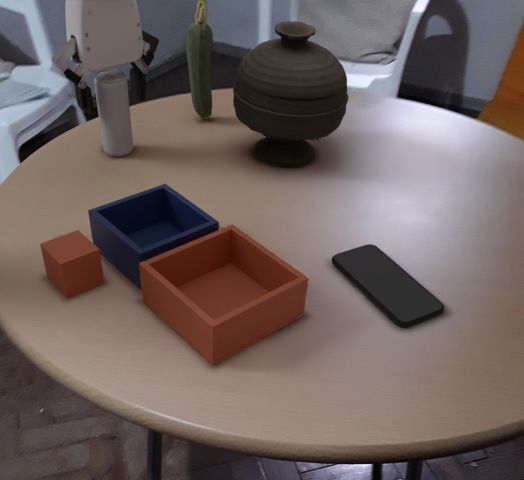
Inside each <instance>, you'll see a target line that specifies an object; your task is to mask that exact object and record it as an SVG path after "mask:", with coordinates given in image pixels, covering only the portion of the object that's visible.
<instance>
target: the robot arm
mask: <svg viewBox="0 0 524 480" xmlns="http://www.w3.org/2000/svg"><path fill="white" fill-rule="evenodd" d="M64 13H65V18H64V19H65V35H66V43H65V44H63V46H61V48H60V49H59V50H57V52H56V53H54V55H52V57H51V62H52V64H53V65H54V66H55V68H56V69H57V71H59V73H60V74H61V75H62V76H63V77H64V78H66V80H69V81H70V82H71V83H72V84H74V91H75V98H76V104H77V106H78V108H79V109H80V110H82V111H83V112H85V113H86V114H88V116H91V115H94V114H95V107H94V100H93V91H92V88H91V87H90V86H89V85H88V83H89V81H90V79H91V77H92V75H93V73H94V72H95V71H101V70H106V69H111V68H113V67H118V66H122V65H127V64H130V65H131V68H129V72H128V73H129V83H130V84H129V85H130V93H131V96H132V97H134V98H136V99H138V100H139V101H141V102H144V101H147V93H146V92H147V76H146V75H147V74H148V72H149V69H150V68H149V67H150V65H151V64H152V62H153V60H154V59H155V53H156V51H157V48H158V46H159V43H160V40H159V38H158V37H156V36H154V35H152V34H150V33H149V32H147V31H146V30H143V29H142V23H141V18H140V17H141V16H140V11H139V7H138V2H137V0H65V7H64ZM144 42H145V45H144ZM69 60H70V61H71V62H73V63H75V64H74V67H73V69H72V68H71V67H70V66H69V64H68V61H69Z"/></svg>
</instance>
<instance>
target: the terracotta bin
mask: <svg viewBox="0 0 524 480" xmlns="http://www.w3.org/2000/svg"><path fill="white" fill-rule="evenodd" d="M139 268H140V279H141V289H142V291H141V297H142V299H141V300H142V303H144V304H145V305H146V306H147V307H148V308H149V309H150V310H152V312H154V313H155V314H156V315H157V316H158V317H159V318H160V319H161V320H162V321H163V322H164V323H166V324H167V325H168V326H169V327H170V328H171V329H172V330H173V331H174V332H175V333H176V334H177V335H178V336H180V337H181V338H182V339H183V340H184V341H185V343H187V344H188V345H190V346H191V347H192V348H193V349H194V350H195V351H196V352H197V353H198V354H200V355H201V357H203V358H204V359H205V360H206V361H207V362H208V363H209V364H210V365H211V366H214V365H217V364H218V363H220V362H222V361H224V360H225V359H227V358H229V357H231V356H233V355H234V354H237V353H238V352H240V351H242V350H244V349H245V348H248V347H249V346H251V345H254V344H255V343H256V342H258V341H260V340H263V339H264V338H266V337H268V336H270V335H271V334H273V333H275V332H277V331H278V330H281V329H282V328H283V327H285V326H288V325H289V324H291V323H293V322H295V321H296V320H298V319H300V318H302V317H304V316H305V315H304V314H305V308H306V300H307V293H308V285H309V277H308V276H307V275H305V274H303V273H302V272H300V271H299V270H298V269H297V268H295V267H293V266H292V265H291V264H289V263H288V262H286V261H285V260H284V259H282V258H281V257H280V256H279V255H276V254H275V253H274V252H273V251H271V250H269V249H268V248H267V247H266V246H264V245H262V244H261V243H260V242H258V241H257V240H255V238H253V237H251V236H250V235H249V234H247V233H246V232H244V231H243V230H241V229H240V228H238V227H237V226H236V225H234V224H230V225H227V226H226V227H223V228H220V229H219V230H218V231H216V232H213V233H211V234H208V235H206V236H204V237H201V238H199V239H196V240H194V241H192V242H189V243H187V244H184V245H182V246H180V247H177V248H175V249H172V250H170V251H167V252H165V253H163V254H160V255H158V256H155V257H153V258H151V259H148V260H146V261H143V262H141V263H139Z"/></svg>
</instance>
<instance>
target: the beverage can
mask: <svg viewBox="0 0 524 480" xmlns="http://www.w3.org/2000/svg"><path fill="white" fill-rule="evenodd" d="M93 77H94V78H93V84H94V90H95V99H96V106H97V112H98V113H97V115H98V123H99V129H100V135H101V142H102V149H103V151H104V152H105V154H106V155H108V156H111V157H114V158H115V157H116V158H122V157H126V156H128V155H130V154H131V153H132V151H133V149H134V141H133V130H132V120H131V108H130V97H129V86H128V78H127V75H126V73H125V72H124V71H122V70H119V69H113V68H112V69H111V68H106V69H101V70H97V71H96V72H95V73H94V76H93Z"/></svg>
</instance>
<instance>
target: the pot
mask: <svg viewBox="0 0 524 480" xmlns="http://www.w3.org/2000/svg"><path fill="white" fill-rule="evenodd" d="M274 32H275V34H276V35H278V36H279V37H280V38H279V37H277V38H273V39H269V40H266V41H262V42H260V43H259V44H257V45H256V46H254V47H253V48H252V49H250V50H249V51H248V53H247V54H246V55H245V56H244V57H243V58H242V60H241V61H240V63H239V65H238V68H237V72H236V76H235V81H234V84H233V86H232V92H233V98H232V103H233V108H234V113H235V117H236V118H237V120H238V121H239V122H240V123H241V124H243V125H244V126H246V127H247V128H248V129H249V130H251V131H252V132H256V133H259V134H261V135H262V136H263V138H261V139H259V140H257V142H256V143H255V146H254V150H253V154H254V156H255V157H256V159H257V160H259V161H261V162H262V163H265V164H268V165H270V166H274V167H278V168H285V169H286V168H287V169H294V168H295V169H296V168H300V167H305V166H306V165H308V164H310V163H312V161H314V160H315V158H316V150H315V148H314V147H313V145H312V144H311V143H310V142H308V141H319V140H321V139H322V138H326V137H327V138H328V137H329V136H330V135H331V134H332V133H334V132H335V131H336V130H338V128H339V127H340V125H341V124H342V121H343V119H344V117H345V115H346V113H347V104H348V102H349V94H348V77H347V73H346V70H345V67H344V66H343V64H342V63H341V62H340V60H339V59H338V58H337V57H336V56H335V55H334V54H333V53H332V52H331V51H330V50H329V49H328V48H326V47H325V46H322V45H321V44H318V43H316V42H314V41H311V40H309V39H310V38H311V37H312V36H315V35H316V34H317V33H316V32H317V30H316V27H315V26H313V25H311V24H307V23H305V22H302V21H296V20H295V21H294V20H293V21H291V20H288V21H287V20H286V21H280V22H278V23H276V24H275V25H274Z"/></svg>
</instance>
